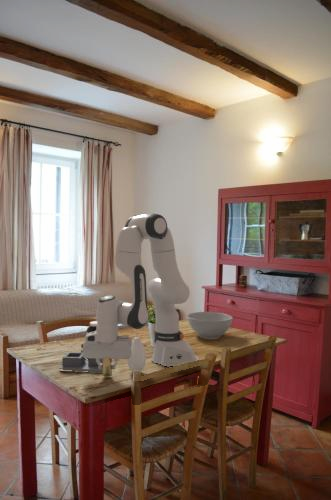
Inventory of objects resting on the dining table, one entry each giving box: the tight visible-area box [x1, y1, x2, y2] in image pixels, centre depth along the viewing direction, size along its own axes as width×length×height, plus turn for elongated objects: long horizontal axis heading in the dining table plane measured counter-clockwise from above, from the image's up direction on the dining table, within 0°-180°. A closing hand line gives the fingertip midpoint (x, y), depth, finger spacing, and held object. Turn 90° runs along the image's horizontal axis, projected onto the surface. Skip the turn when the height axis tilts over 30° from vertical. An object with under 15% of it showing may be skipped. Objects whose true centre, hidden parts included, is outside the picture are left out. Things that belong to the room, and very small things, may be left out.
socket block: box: [59, 351, 102, 373], centre depth 173 cm, size 18×12×6 cm, turn 87°
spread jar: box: [85, 320, 97, 336], centre depth 208 cm, size 12×11×12 cm
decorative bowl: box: [186, 311, 234, 340], centre depth 230 cm, size 27×27×12 cm
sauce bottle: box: [127, 331, 147, 372], centre depth 167 cm, size 8×8×18 cm
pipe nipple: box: [101, 357, 113, 378], centre depth 161 cm, size 4×4×8 cm
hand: (107, 368), depth 161 cm, fingers closed on pipe nipple, 4 cm apart
